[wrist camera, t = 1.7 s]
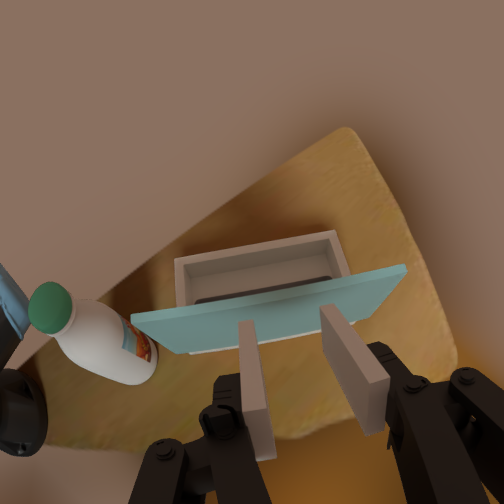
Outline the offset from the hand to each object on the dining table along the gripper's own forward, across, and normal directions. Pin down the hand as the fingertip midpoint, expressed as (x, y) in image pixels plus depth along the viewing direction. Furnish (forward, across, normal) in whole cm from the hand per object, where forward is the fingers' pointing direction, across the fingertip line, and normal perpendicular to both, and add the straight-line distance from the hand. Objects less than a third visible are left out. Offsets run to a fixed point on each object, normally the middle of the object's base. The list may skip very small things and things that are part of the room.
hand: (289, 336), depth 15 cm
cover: (+13, 0, -5) cm, 14 cm away
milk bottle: (+22, -19, -13) cm, 32 cm away
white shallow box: (+26, 0, -8) cm, 27 cm away
